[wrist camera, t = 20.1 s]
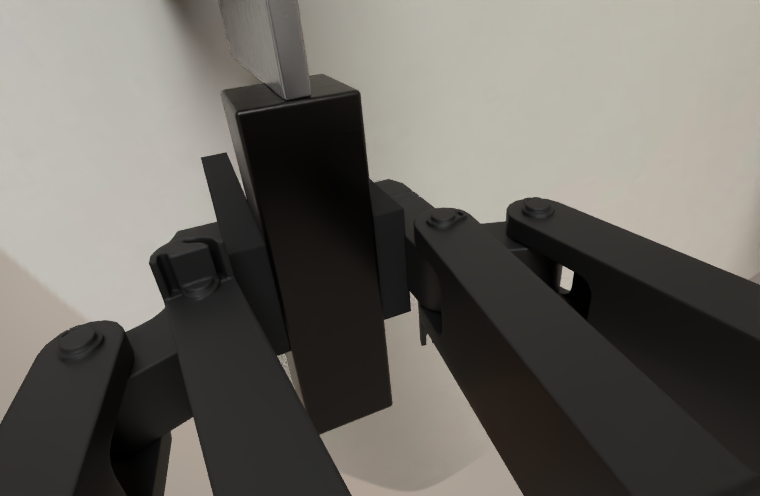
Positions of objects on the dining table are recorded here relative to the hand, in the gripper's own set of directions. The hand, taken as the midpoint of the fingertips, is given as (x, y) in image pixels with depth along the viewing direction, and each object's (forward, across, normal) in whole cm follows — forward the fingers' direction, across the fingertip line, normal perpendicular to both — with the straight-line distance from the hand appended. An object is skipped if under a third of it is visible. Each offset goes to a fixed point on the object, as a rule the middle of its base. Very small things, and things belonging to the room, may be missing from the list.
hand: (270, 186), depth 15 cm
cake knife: (0, 0, +8) cm, 8 cm away
